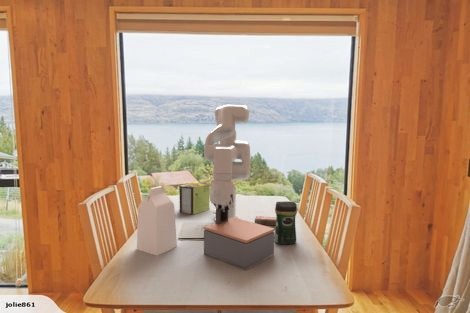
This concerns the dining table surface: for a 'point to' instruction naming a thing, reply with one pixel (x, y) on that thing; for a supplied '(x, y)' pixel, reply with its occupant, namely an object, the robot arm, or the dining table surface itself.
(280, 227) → the coffee jar
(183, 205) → the protein box
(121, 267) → the dining table surface
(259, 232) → the lid
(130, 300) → the dining table surface
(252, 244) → the carton
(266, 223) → the packaged product
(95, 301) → the dining table surface
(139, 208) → the milk
